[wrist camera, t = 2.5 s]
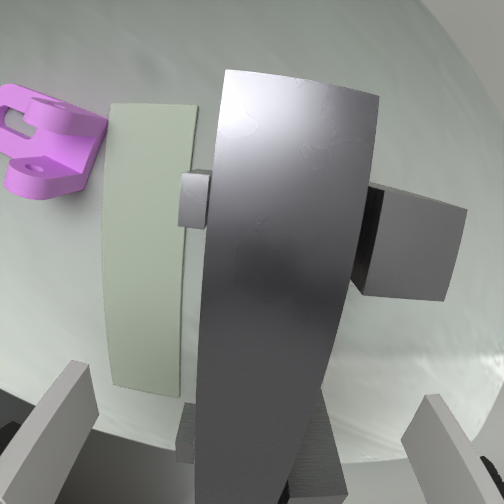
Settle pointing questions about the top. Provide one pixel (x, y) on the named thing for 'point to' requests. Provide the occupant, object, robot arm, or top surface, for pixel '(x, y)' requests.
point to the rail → (274, 273)
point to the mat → (145, 242)
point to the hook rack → (369, 284)
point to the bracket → (48, 144)
